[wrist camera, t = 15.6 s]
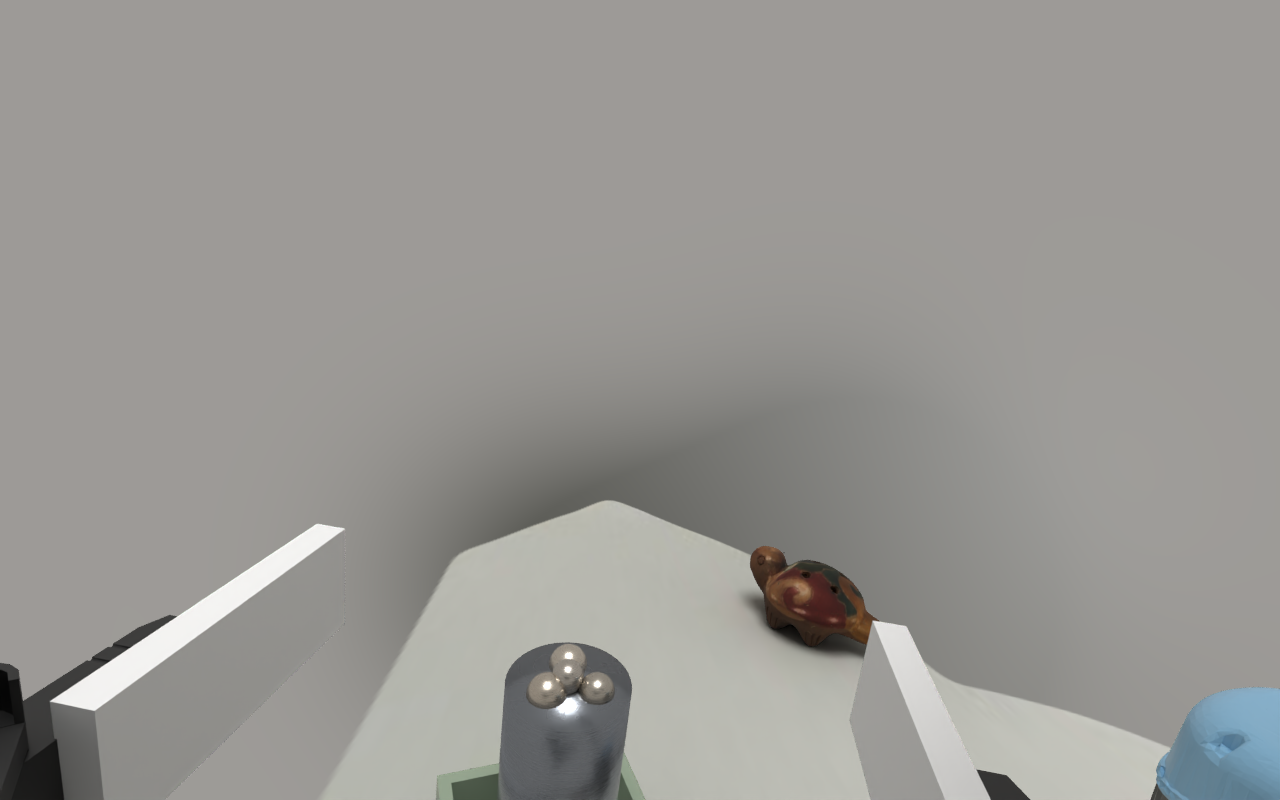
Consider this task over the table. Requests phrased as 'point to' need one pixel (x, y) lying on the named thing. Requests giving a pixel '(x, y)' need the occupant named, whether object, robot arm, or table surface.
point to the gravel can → (563, 725)
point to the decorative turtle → (810, 598)
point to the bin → (474, 790)
